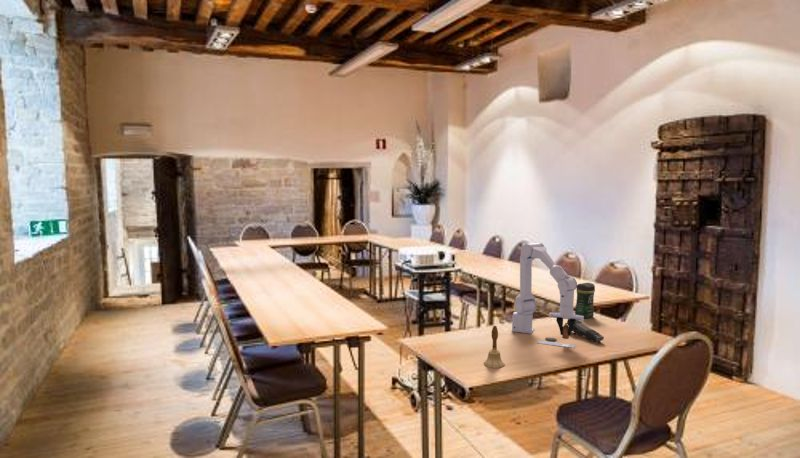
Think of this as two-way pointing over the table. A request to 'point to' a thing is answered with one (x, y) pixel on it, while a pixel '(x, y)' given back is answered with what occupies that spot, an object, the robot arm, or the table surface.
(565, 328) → the awl
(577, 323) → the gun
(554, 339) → the coaster
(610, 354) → the table surface
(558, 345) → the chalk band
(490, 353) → the hand bell
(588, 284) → the coffee jar
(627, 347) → the table surface
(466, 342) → the table surface
